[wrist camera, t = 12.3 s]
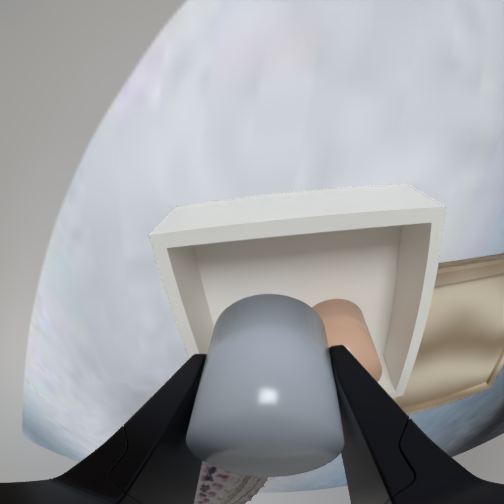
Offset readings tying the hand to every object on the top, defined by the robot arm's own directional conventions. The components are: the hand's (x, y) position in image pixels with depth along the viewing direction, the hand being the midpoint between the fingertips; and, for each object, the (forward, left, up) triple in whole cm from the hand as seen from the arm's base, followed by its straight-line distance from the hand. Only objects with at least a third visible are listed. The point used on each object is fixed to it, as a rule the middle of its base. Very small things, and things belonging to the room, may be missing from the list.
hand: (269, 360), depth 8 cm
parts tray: (-8, -13, -7) cm, 17 cm away
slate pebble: (0, 0, -1) cm, 1 cm away
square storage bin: (-2, -1, -7) cm, 7 cm away
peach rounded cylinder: (-4, -3, -6) cm, 8 cm away
